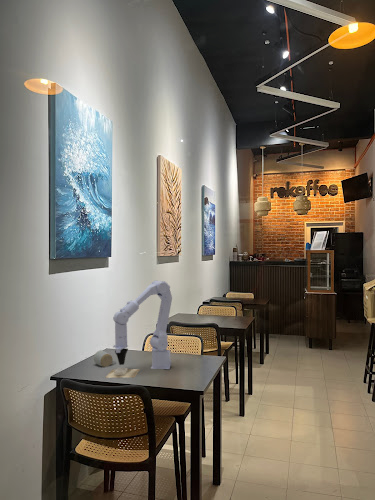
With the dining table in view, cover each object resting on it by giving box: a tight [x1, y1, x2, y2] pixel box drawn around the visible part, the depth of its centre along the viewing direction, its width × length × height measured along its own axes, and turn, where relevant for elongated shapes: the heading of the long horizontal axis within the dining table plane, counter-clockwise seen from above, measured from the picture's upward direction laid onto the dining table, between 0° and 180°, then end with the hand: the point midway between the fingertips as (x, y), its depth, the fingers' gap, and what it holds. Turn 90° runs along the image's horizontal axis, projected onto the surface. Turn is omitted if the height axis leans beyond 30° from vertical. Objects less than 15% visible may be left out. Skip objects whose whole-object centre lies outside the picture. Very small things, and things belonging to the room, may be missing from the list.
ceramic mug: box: [93, 349, 117, 368], centre depth 212 cm, size 11×8×8 cm
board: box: [104, 368, 141, 379], centre depth 194 cm, size 14×14×1 cm
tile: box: [114, 367, 129, 375], centre depth 194 cm, size 5×2×6 cm
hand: (121, 364), depth 196 cm, fingers closed
